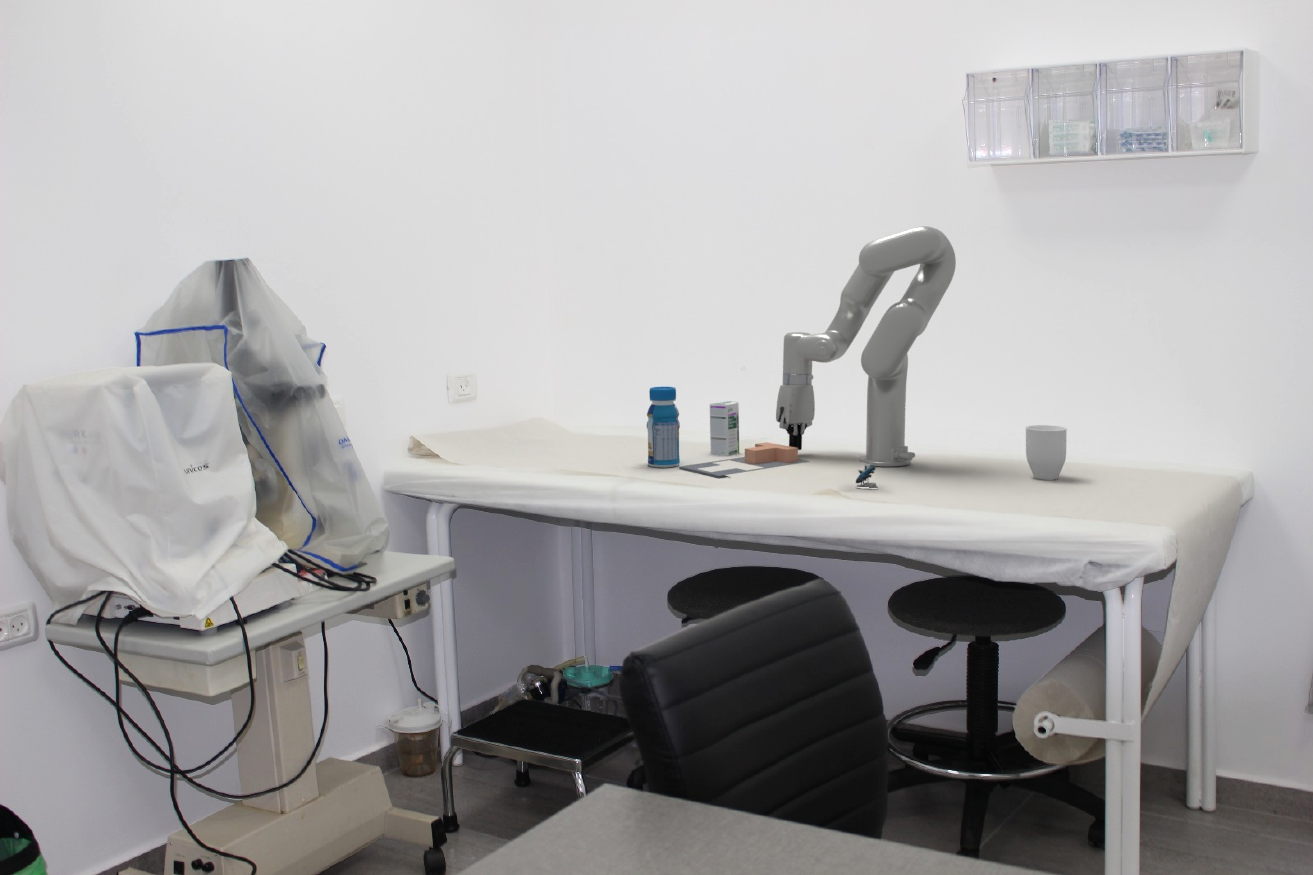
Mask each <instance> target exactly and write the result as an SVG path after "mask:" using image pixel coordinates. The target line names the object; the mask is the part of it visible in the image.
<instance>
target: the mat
mask: <svg viewBox="0 0 1313 875" xmlns="http://www.w3.org/2000/svg"><path fill="white" fill-rule="evenodd" d="M727 461H731V462H735V463H736V462H737V463H741V464H745V465H751V466H755V467H759V468H754V469H753V468H752V469H742V468H737V467H735V468H728V469H723V470H715V471H708V470H703V469H705V468H711V467H717V466H720V463H719V462H727ZM810 462H811V460H805V459H800V458H798V461H797V462H791V463H783V462H778V461H773V462H767V463H760V464H751V463H746V462H745V456H742V457H735V458H729V459H728V458H727V459H722V460H721V459H720V460H715V461H707V462H706V461H705V462H701V463H693V464H688V465H681V466H679V465H678V470H682V471H685V472H687V471H688V472H689V473H694V472H695V473H694V474H699V475H703V476H708V477H713V478H715V479H724V478H729V477H730V475H734V474H741V473H746V472H752V471H753V472H754V471H759V470H766V469H771V468H778V467H784V466H791V465H797V464H803V463H810ZM718 463H719V464H718ZM702 468H703V469H702Z"/></svg>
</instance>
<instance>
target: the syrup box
mask: <svg viewBox="0 0 1313 875" xmlns="http://www.w3.org/2000/svg"><path fill="white" fill-rule="evenodd" d="M739 408H740V407H739V402H738V401H731V400H730V401H727V400H726V401H725V400H721V401H718V402H712V403H710V404H709V433H710V437H709V438H710V455H713V456H723V457H730V456H734V455H737V454H740V425H739V424H740V420H739V419H740V416H739V413H740V412H739V410H740V409H739Z"/></svg>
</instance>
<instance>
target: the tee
mask: <svg viewBox="0 0 1313 875" xmlns="http://www.w3.org/2000/svg"><path fill="white" fill-rule="evenodd" d="M744 457H745V462H746V463H751V464H760V463H767V462H773V461H778V462H783V463H791V462H797V461H798V459H799V450H798V448H796V447H790V446H789V445H783V444H778V443H773V442H767V441H766V442H760V443H758V442H757V443H754V447H747V448H744Z"/></svg>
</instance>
